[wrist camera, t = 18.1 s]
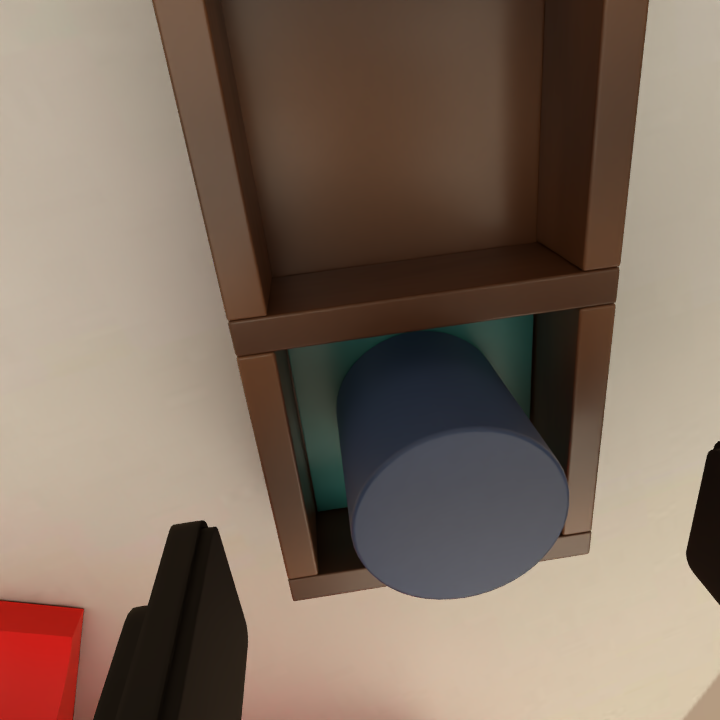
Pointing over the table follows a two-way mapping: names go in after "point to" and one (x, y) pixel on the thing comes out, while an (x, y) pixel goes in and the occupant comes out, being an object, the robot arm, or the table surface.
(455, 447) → the cylinder
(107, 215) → the table surface
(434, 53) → the holder
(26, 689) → the bracket
